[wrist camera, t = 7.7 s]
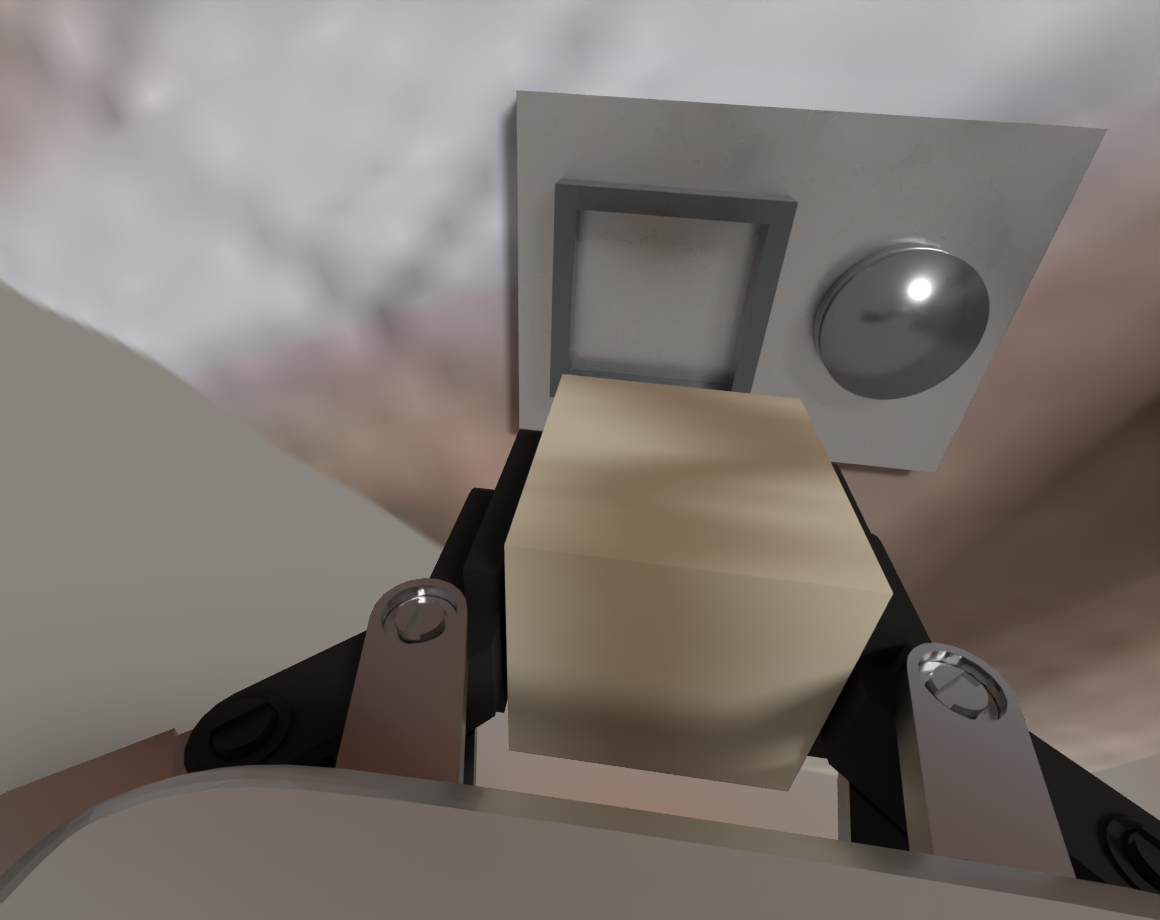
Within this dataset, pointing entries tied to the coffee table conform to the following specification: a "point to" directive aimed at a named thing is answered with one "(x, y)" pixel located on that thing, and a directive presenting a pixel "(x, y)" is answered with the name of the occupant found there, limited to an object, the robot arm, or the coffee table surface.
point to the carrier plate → (783, 256)
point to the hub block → (683, 584)
